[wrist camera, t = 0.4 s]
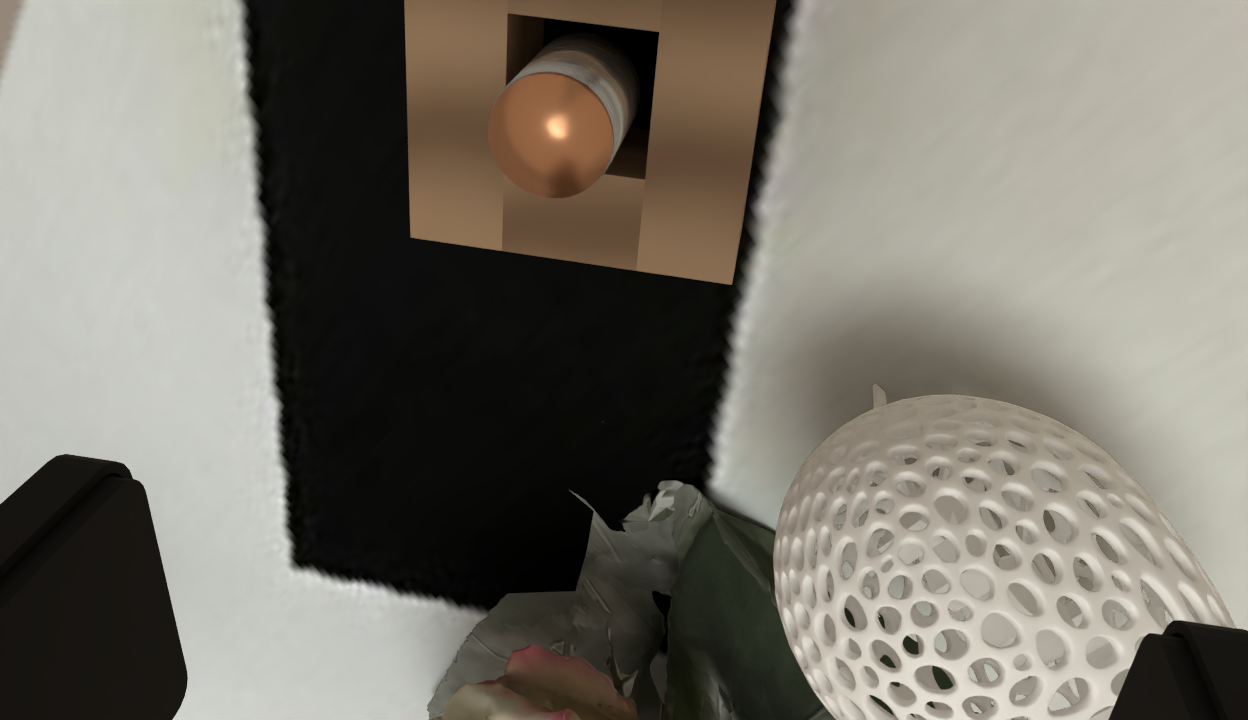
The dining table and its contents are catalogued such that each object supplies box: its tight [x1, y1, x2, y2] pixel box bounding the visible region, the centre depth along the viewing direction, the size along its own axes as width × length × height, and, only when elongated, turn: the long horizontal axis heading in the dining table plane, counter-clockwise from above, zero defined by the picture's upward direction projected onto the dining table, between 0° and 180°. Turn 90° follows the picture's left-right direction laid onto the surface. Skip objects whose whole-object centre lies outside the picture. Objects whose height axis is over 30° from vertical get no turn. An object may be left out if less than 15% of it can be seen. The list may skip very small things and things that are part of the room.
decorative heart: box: [773, 384, 1236, 720], centre depth 34 cm, size 18×11×17 cm, turn 50°
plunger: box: [488, 33, 640, 198], centre depth 31 cm, size 4×4×5 cm
